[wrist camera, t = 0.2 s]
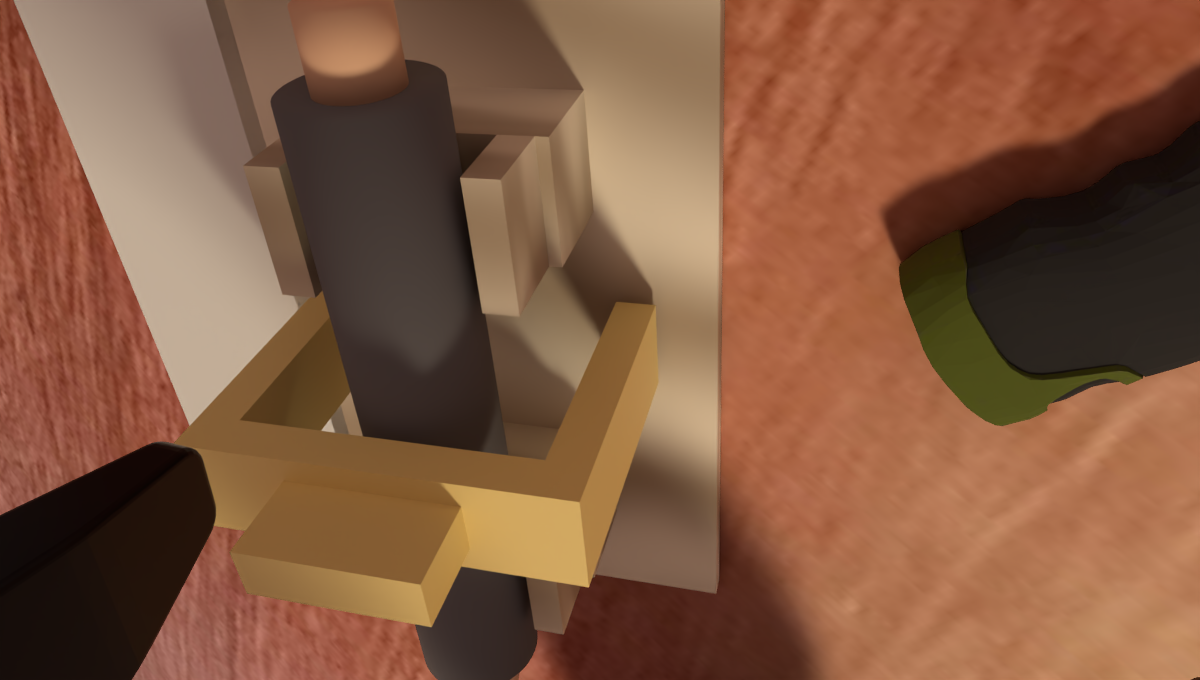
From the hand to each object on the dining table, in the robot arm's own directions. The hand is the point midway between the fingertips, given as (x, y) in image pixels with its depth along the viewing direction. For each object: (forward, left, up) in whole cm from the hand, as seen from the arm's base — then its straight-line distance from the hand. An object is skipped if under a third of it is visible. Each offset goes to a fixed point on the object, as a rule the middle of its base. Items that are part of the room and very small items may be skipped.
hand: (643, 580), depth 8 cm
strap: (-7, +7, -14) cm, 18 cm away
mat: (-7, +16, -14) cm, 23 cm away
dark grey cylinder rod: (-7, +7, -10) cm, 14 cm away
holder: (-6, +7, -14) cm, 17 cm away
